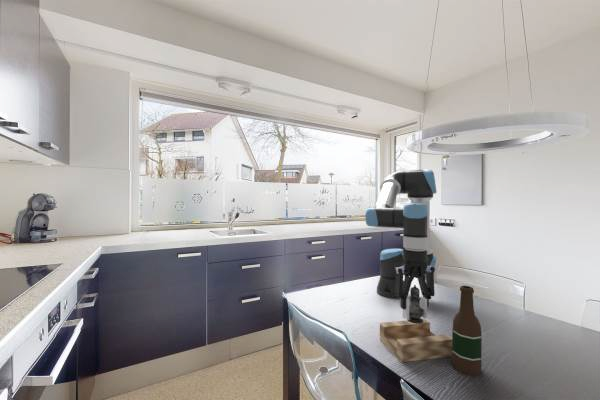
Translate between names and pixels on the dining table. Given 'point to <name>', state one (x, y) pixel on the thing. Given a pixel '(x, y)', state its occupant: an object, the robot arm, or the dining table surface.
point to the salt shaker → (415, 306)
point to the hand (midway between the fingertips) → (414, 317)
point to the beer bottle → (467, 336)
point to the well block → (414, 341)
